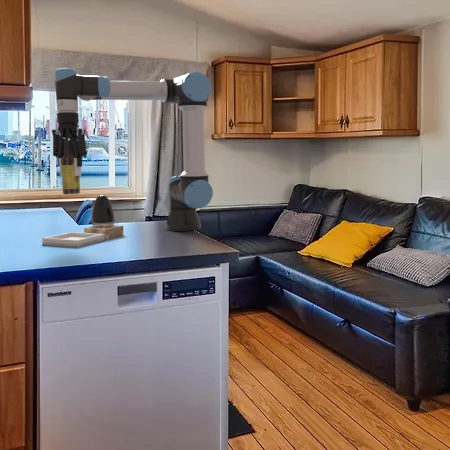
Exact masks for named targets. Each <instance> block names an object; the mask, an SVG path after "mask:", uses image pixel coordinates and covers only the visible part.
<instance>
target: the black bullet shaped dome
mask: <svg viewBox="0 0 450 450" xmlns="http://www.w3.org/2000/svg"><path fill="white" fill-rule="evenodd" d="M90 217H91V218H90V221H91V223H92V226H96V225H101V224H103V225H115V222H116V219H115V217H116V216H115V212H114V209H113V205H112V202H111V201H110V198H109V197H108V196H107V195H104V194H100V195H98V196H97V197H96V198H95V200H94V202H93V206H92V210H91V216H90Z"/></svg>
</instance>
